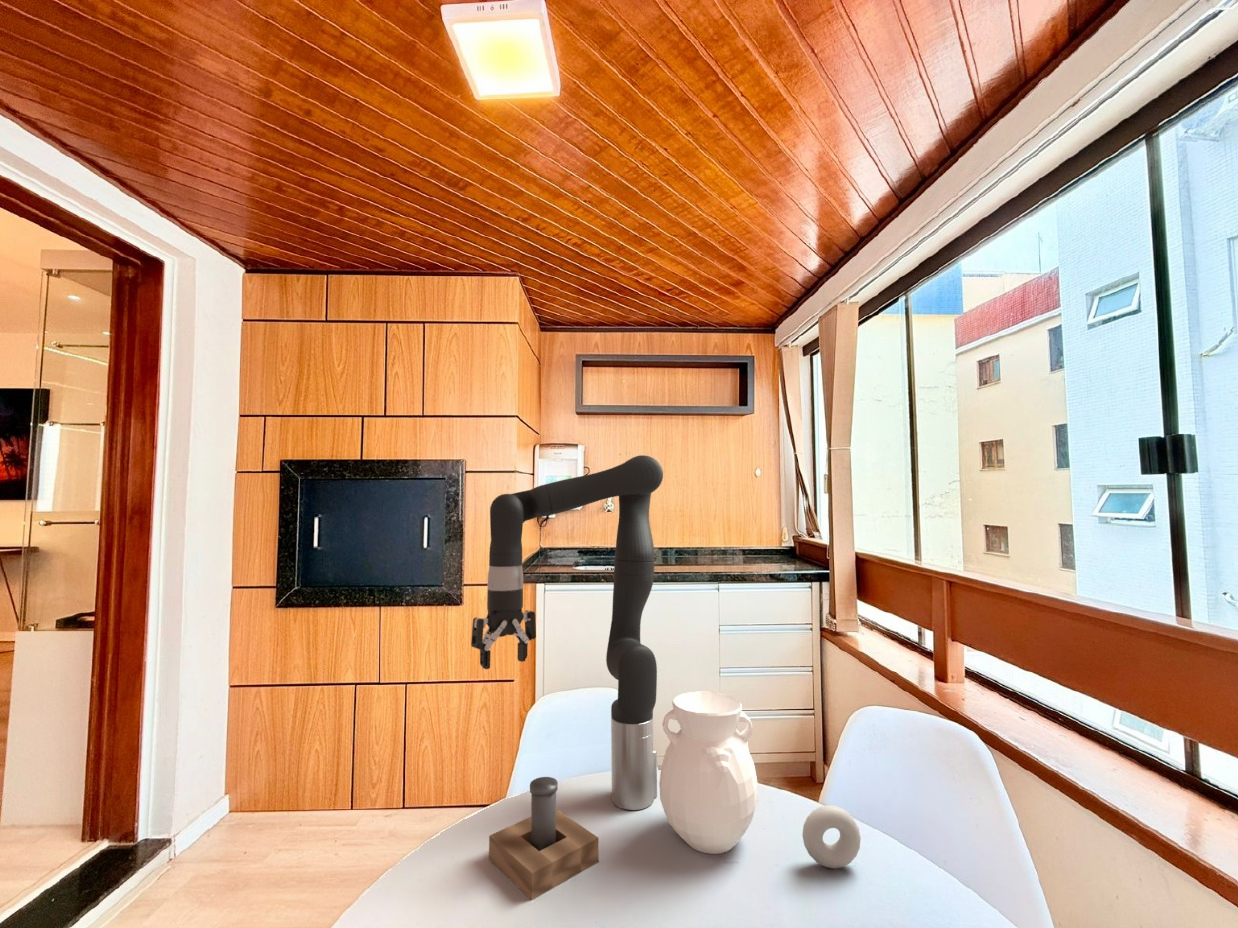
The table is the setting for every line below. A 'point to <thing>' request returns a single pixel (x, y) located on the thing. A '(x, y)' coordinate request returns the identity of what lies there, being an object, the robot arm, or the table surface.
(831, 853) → the donut
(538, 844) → the plug
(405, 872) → the table surface
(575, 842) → the socket block
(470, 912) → the table surface
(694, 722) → the white handled vase
